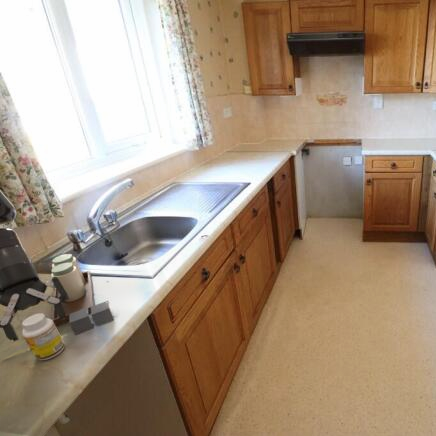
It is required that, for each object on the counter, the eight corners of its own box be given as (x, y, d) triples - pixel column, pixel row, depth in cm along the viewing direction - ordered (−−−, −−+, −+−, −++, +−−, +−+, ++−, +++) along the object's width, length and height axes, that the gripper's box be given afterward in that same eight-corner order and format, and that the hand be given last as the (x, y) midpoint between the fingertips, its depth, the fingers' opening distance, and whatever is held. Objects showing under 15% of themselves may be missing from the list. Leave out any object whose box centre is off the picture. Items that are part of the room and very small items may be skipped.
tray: (54, 328, 84) (50, 321, 83) (57, 288, 100) (53, 281, 99) (96, 313, 89) (93, 306, 88) (92, 277, 105) (89, 270, 104)
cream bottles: (62, 304, 92) (48, 275, 88) (63, 284, 101) (50, 257, 97) (86, 296, 95) (74, 267, 91) (85, 277, 104) (73, 250, 100)
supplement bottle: (37, 350, 77) (18, 317, 73) (65, 339, 80) (49, 307, 76) (35, 365, 73) (15, 332, 69) (65, 353, 76) (48, 320, 72)
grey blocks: (75, 335, 82) (69, 322, 80) (75, 326, 85) (69, 314, 83) (114, 320, 86) (109, 308, 85) (112, 312, 89) (108, 300, 87)
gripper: (-36, 278, 69) (-7, 344, 67) (46, 251, 79) (75, 309, 76) (-24, 288, 75) (3, 350, 73) (51, 262, 84) (78, 316, 82)
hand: (40, 329), depth 74 cm, fingers open, 8 cm apart
